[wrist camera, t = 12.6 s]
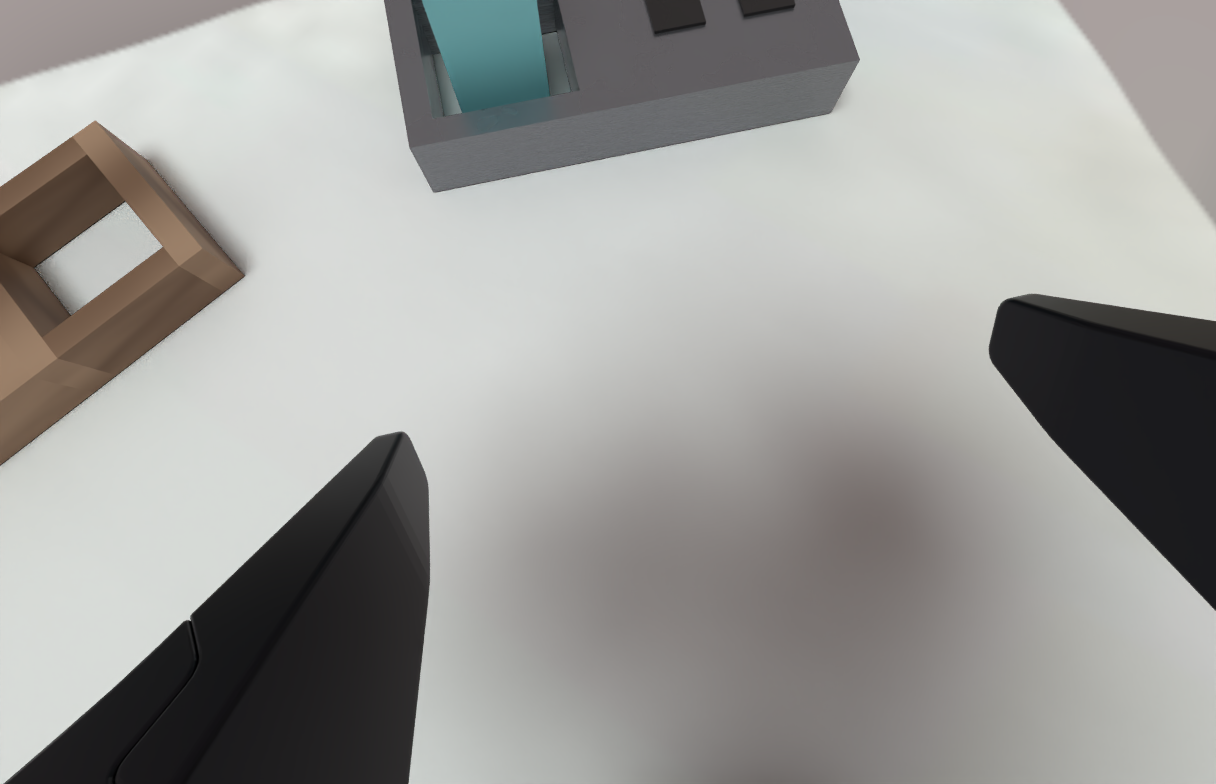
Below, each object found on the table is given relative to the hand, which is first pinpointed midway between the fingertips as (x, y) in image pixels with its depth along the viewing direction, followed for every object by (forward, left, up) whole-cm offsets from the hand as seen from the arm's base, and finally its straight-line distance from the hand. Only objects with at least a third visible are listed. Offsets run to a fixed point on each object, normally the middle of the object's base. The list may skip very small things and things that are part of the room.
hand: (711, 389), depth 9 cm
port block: (+15, +7, -14) cm, 22 cm away
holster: (-3, +24, -14) cm, 28 cm away
